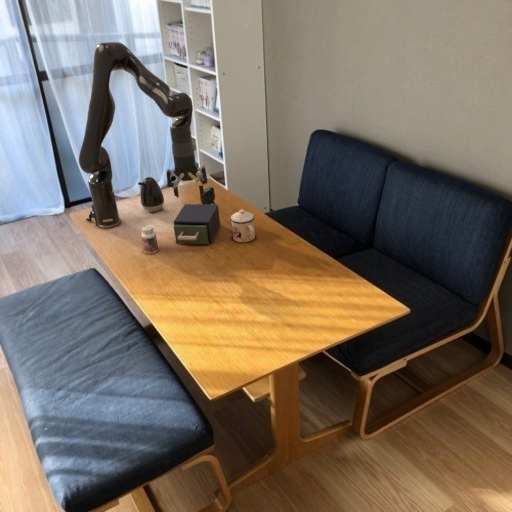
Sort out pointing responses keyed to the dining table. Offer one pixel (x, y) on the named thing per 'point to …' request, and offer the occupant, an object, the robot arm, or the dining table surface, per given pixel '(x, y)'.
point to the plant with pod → (207, 193)
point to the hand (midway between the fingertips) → (189, 195)
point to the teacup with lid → (243, 226)
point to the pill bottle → (149, 240)
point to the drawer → (191, 233)
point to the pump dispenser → (151, 195)
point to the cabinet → (200, 217)
